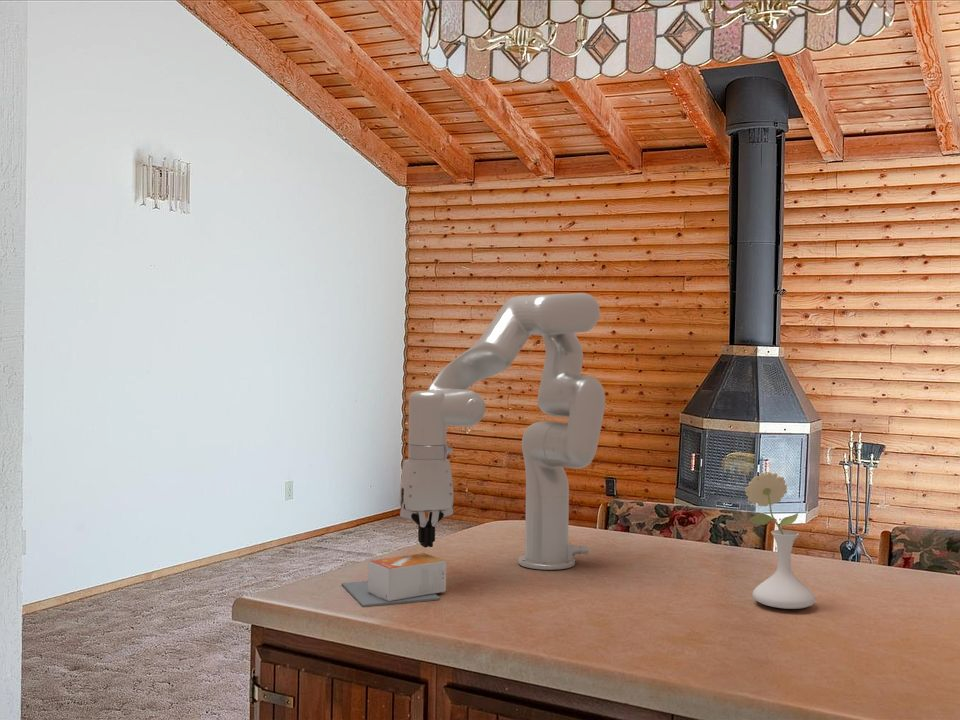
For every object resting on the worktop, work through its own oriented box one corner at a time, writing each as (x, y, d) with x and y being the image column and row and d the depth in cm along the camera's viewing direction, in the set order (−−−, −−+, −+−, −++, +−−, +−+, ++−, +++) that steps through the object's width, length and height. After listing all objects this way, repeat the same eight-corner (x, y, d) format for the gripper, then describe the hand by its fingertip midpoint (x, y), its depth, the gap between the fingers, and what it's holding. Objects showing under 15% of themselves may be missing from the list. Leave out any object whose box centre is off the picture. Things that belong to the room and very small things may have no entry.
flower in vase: (815, 601, 181) (817, 470, 181) (816, 616, 171) (818, 478, 170) (745, 594, 186) (746, 467, 185) (741, 609, 175) (743, 474, 175)
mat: (413, 579, 195) (413, 577, 195) (440, 599, 180) (440, 597, 179) (341, 585, 190) (341, 583, 190) (362, 607, 174) (362, 604, 174)
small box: (447, 559, 184) (388, 568, 176) (446, 592, 184) (388, 602, 176) (424, 551, 190) (367, 560, 182) (424, 583, 190) (367, 592, 183)
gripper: (456, 450, 193) (455, 539, 194) (385, 452, 188) (384, 544, 188) (469, 454, 186) (468, 547, 187) (396, 456, 181) (395, 552, 181)
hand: (426, 545), depth 187 cm, fingers closed
